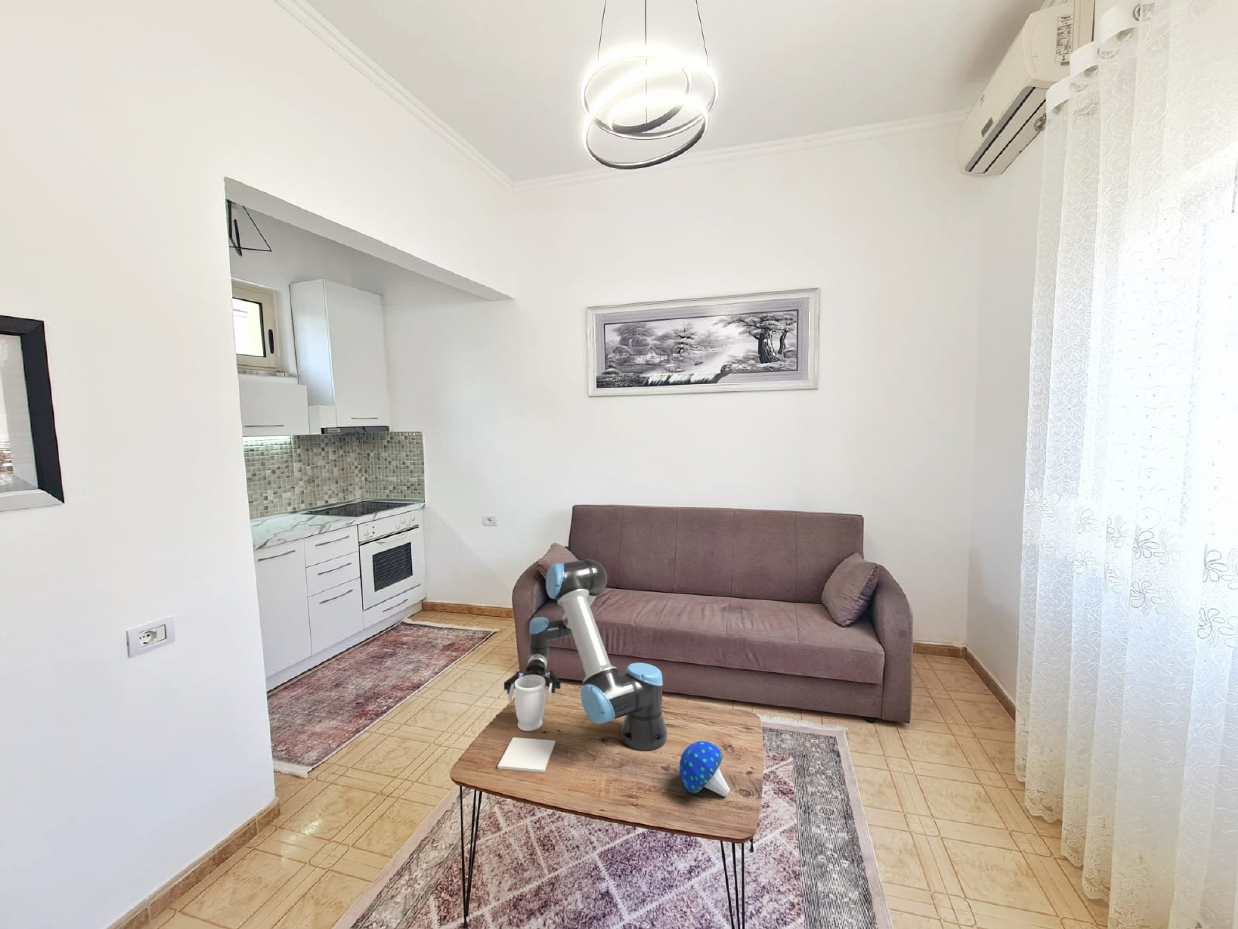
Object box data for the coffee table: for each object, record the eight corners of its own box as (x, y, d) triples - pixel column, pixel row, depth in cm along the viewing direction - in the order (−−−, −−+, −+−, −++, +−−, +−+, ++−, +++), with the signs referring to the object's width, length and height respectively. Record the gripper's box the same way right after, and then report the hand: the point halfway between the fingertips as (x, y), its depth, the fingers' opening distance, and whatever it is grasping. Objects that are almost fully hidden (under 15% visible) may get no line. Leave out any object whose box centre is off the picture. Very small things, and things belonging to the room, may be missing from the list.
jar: (538, 735, 161) (538, 691, 160) (509, 731, 163) (509, 687, 163) (549, 717, 172) (549, 676, 171) (522, 714, 174) (521, 672, 173)
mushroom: (743, 786, 127) (698, 740, 132) (708, 826, 128) (664, 779, 133) (744, 763, 141) (703, 722, 145) (712, 799, 141) (673, 758, 146)
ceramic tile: (555, 743, 157) (555, 740, 157) (543, 772, 143) (543, 770, 143) (513, 739, 159) (513, 737, 159) (497, 768, 145) (497, 766, 145)
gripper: (568, 676, 192) (565, 706, 171) (503, 678, 190) (493, 708, 169) (568, 658, 191) (566, 685, 170) (503, 659, 190) (493, 687, 169)
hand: (529, 696), depth 170 cm, fingers open, 13 cm apart
